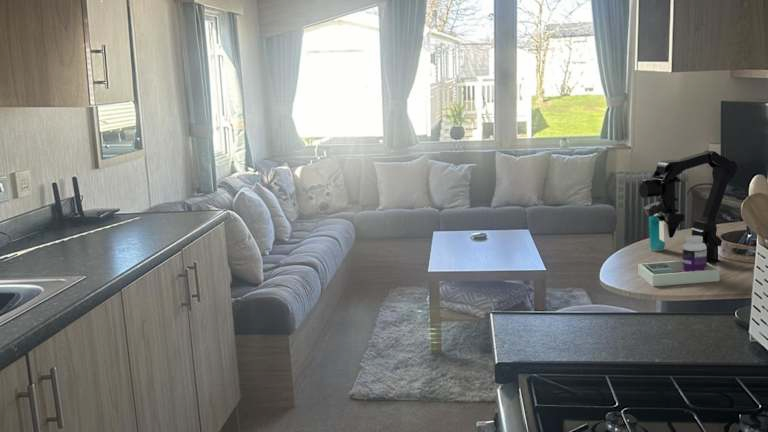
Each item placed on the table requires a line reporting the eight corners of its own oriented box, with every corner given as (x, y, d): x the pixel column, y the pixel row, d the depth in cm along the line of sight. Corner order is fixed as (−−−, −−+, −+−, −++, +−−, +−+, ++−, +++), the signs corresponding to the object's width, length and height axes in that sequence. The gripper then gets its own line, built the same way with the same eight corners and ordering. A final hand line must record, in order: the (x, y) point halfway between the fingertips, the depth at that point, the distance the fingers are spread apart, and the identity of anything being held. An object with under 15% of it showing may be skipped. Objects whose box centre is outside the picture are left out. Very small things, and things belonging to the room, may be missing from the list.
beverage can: (665, 251, 307) (665, 215, 305) (651, 251, 309) (650, 216, 306) (663, 248, 313) (662, 212, 310) (649, 248, 314) (648, 213, 311)
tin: (664, 276, 274) (664, 262, 273) (671, 281, 268) (671, 267, 267) (646, 277, 274) (645, 264, 274) (652, 282, 268) (652, 269, 267)
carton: (672, 238, 285) (672, 218, 284) (677, 241, 280) (677, 220, 279) (659, 239, 285) (659, 219, 284) (664, 242, 280) (663, 222, 279)
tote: (701, 269, 278) (701, 258, 277) (719, 281, 262) (719, 269, 262) (638, 274, 279) (638, 264, 278) (652, 286, 263) (652, 275, 262)
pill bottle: (678, 274, 274) (677, 236, 271) (699, 272, 275) (699, 233, 272) (689, 280, 266) (688, 240, 264) (711, 278, 267) (710, 238, 264)
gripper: (638, 192, 289) (639, 232, 292) (654, 200, 271) (654, 243, 273) (667, 190, 289) (668, 230, 291) (685, 198, 270) (686, 240, 273)
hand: (668, 236), depth 282 cm, fingers closed on carton, 5 cm apart
